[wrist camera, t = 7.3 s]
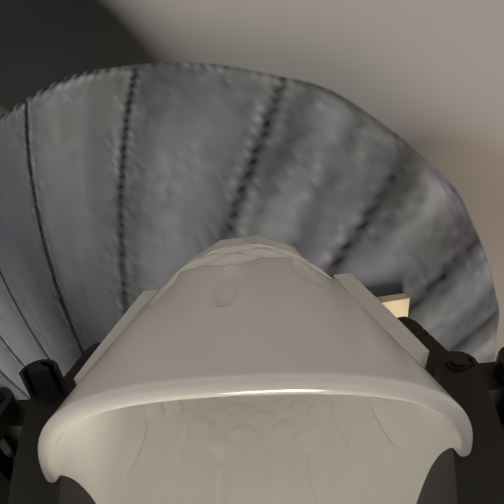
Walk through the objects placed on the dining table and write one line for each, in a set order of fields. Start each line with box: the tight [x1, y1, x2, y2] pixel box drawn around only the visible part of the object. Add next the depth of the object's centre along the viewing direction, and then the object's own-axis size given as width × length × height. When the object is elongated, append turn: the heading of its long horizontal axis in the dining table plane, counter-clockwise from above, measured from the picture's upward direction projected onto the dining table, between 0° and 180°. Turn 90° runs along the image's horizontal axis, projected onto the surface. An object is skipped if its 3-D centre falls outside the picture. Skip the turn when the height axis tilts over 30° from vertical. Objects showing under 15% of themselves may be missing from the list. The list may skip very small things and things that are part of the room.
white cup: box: [38, 235, 473, 504], centre depth 8 cm, size 8×8×10 cm
